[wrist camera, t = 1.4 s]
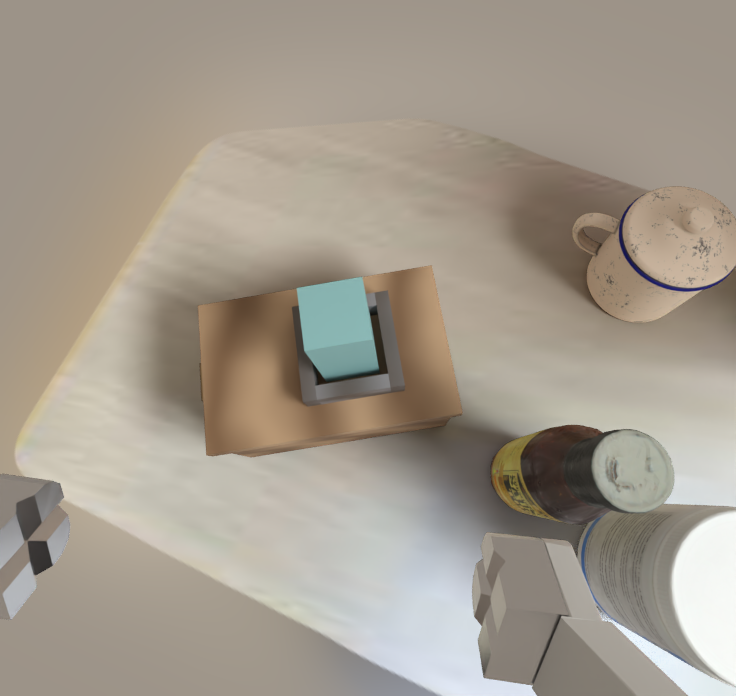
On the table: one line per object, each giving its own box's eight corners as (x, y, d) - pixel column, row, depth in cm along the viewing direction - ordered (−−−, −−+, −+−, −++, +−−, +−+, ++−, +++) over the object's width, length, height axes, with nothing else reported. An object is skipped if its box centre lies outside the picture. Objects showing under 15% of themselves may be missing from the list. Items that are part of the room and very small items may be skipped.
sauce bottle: (475, 486, 43) (530, 483, 24) (509, 426, 44) (589, 377, 25) (543, 530, 41) (660, 564, 22) (577, 466, 43) (716, 447, 24)
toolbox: (426, 308, 48) (432, 253, 37) (450, 429, 44) (466, 408, 33) (231, 341, 48) (179, 297, 37) (240, 463, 45) (186, 454, 34)
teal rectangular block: (371, 323, 38) (362, 276, 29) (379, 373, 36) (372, 339, 28) (320, 331, 38) (296, 288, 30) (326, 382, 36) (304, 350, 28)
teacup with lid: (695, 261, 47) (785, 190, 36) (662, 342, 45) (747, 294, 34) (575, 213, 49) (624, 133, 38) (539, 288, 47) (580, 226, 36)
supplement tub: (604, 643, 39) (717, 731, 25) (554, 522, 42) (631, 539, 27) (718, 604, 39) (896, 669, 25) (662, 486, 42) (793, 485, 28)
